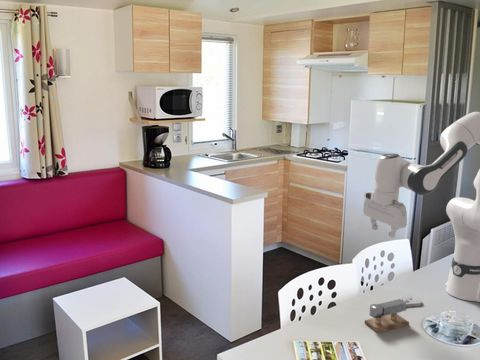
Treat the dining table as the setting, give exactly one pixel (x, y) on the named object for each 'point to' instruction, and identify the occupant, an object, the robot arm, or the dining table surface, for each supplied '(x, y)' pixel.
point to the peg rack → (386, 322)
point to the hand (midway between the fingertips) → (382, 233)
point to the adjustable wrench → (411, 301)
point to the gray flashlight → (387, 308)
